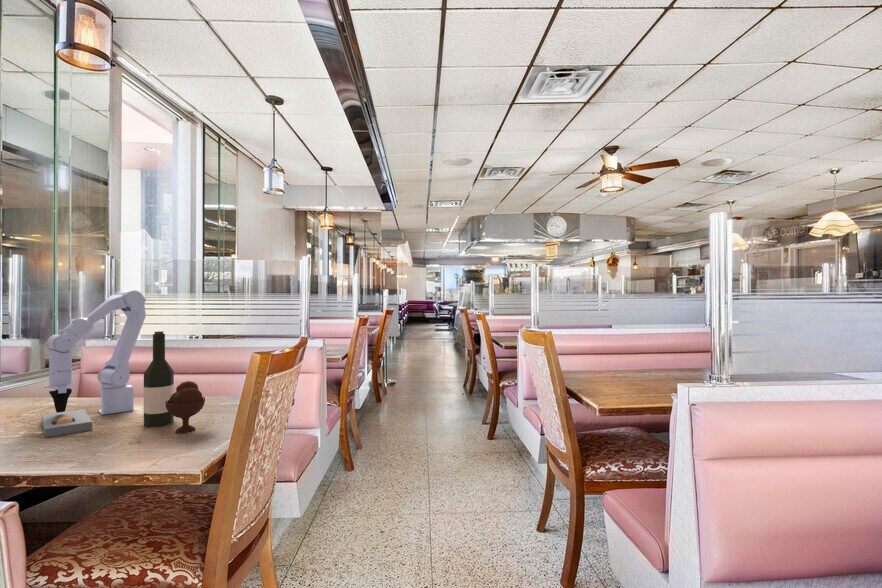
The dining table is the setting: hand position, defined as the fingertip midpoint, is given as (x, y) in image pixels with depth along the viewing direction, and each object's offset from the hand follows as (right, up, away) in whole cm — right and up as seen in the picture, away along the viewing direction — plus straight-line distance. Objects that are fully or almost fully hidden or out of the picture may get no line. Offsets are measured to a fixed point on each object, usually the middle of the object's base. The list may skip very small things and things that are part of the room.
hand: (60, 411), depth 149 cm
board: (+5, -3, -4) cm, 8 cm away
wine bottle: (+34, -4, -2) cm, 34 cm away
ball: (+8, -1, -8) cm, 12 cm away
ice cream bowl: (+47, -3, -10) cm, 48 cm away
